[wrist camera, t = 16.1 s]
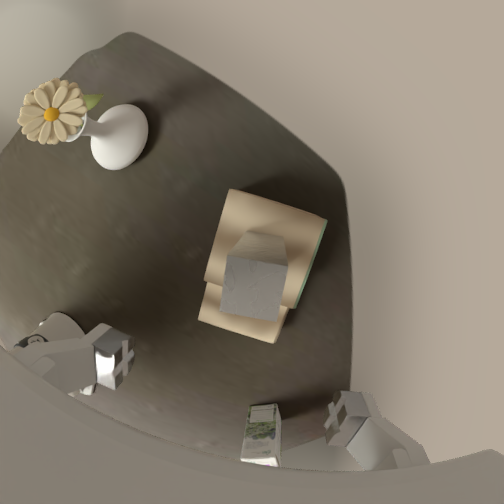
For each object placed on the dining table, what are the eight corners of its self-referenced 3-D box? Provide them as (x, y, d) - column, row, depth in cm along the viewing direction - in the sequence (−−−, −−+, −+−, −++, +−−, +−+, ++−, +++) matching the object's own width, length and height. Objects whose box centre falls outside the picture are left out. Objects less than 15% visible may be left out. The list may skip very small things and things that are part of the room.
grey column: (276, 271, 34) (276, 321, 20) (241, 265, 34) (219, 311, 21) (283, 236, 33) (288, 266, 19) (246, 230, 33) (227, 255, 20)
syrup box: (254, 423, 49) (248, 476, 35) (248, 404, 48) (239, 460, 34) (281, 420, 49) (281, 474, 35) (277, 401, 48) (275, 458, 33)
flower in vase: (99, 176, 42) (-17, 176, 17) (97, 117, 39) (-8, 85, 15) (164, 161, 40) (51, 135, 16) (160, 96, 38) (65, 29, 14)
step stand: (275, 332, 44) (275, 358, 37) (204, 309, 45) (190, 331, 37) (318, 215, 40) (328, 220, 32) (238, 189, 40) (229, 188, 32)
